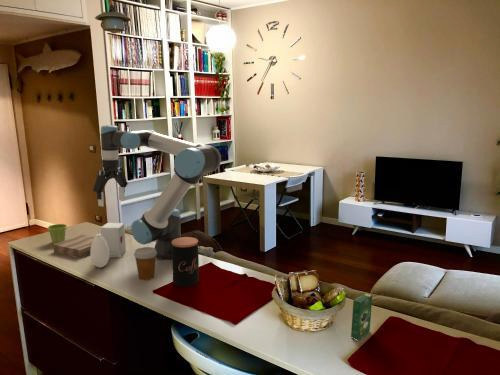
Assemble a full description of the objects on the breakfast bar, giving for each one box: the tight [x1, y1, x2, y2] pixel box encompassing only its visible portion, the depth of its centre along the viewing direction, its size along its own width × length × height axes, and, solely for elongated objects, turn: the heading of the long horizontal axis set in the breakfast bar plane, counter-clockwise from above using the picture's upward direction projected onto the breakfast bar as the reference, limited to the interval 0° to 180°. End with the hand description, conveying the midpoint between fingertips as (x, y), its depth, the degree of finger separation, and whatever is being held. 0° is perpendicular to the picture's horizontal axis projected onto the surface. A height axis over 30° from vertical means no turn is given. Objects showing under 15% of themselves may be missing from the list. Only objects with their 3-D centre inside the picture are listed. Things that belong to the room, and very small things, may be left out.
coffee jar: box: [171, 236, 200, 288], centre depth 170 cm, size 11×11×18 cm
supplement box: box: [100, 222, 127, 258], centre depth 202 cm, size 9×9×15 cm
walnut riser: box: [52, 234, 96, 259], centre depth 210 cm, size 18×18×4 cm
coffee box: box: [350, 292, 373, 341], centre depth 132 cm, size 8×3×13 cm, turn 137°
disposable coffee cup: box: [133, 246, 157, 281], centre depth 176 cm, size 10×10×12 cm
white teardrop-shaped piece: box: [89, 228, 110, 269], centre depth 186 cm, size 8×8×18 cm
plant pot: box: [47, 223, 68, 245], centre depth 221 cm, size 9×9×9 cm
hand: (111, 203), depth 198 cm, fingers open, 13 cm apart
